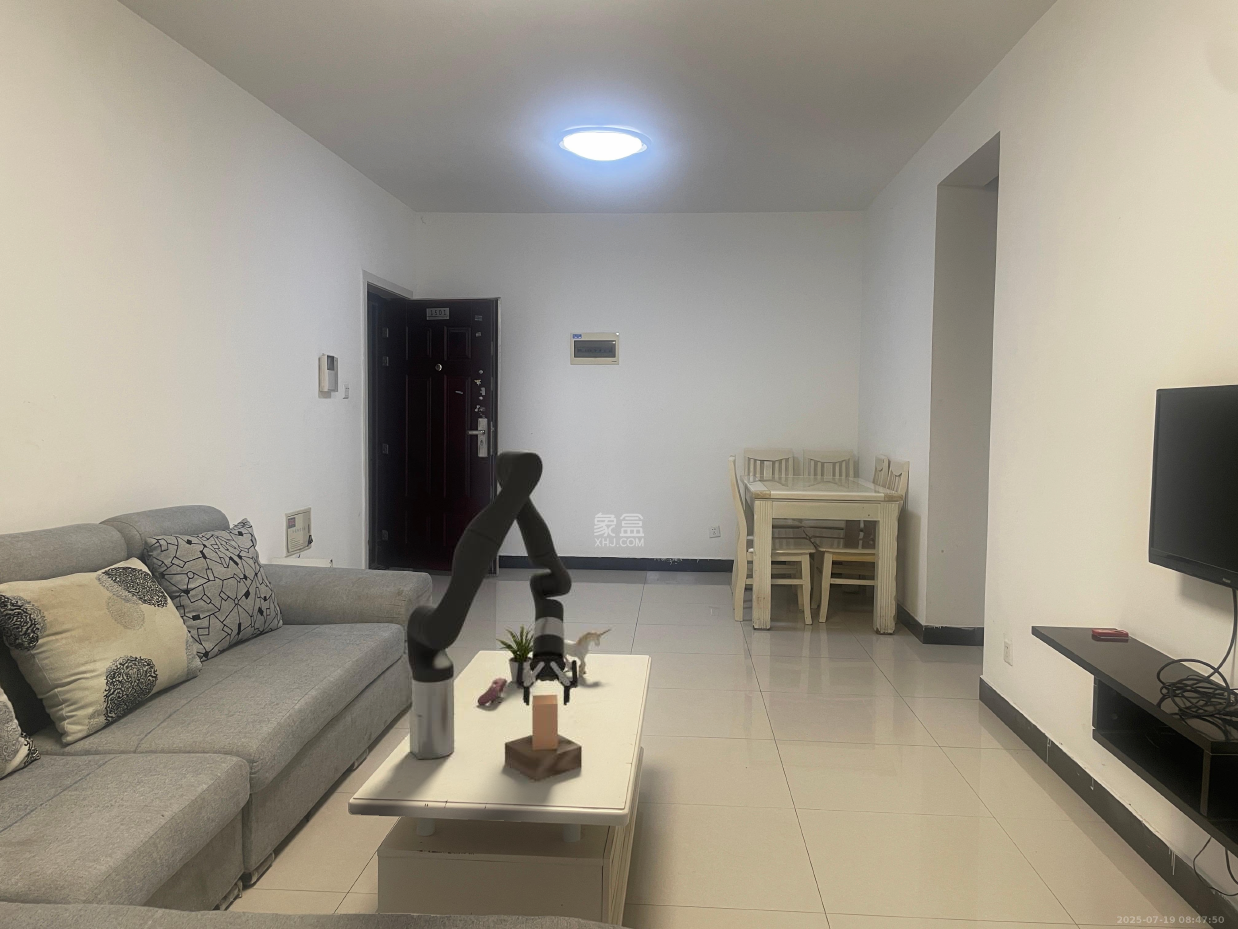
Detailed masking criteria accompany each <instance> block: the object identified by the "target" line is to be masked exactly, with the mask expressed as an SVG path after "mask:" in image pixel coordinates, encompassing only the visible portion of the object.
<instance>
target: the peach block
mask: <svg viewBox="0 0 1238 929" xmlns="http://www.w3.org/2000/svg"><path fill="white" fill-rule="evenodd" d="M531 698H532V700H531V701H532V702H531V703H532V704H531V709H532V710H531V711H532V713H531V715H532V720H531V721H532V722H531V723H532V734H531V735H532V745H533V750H546V749H558V734H559V732H558V730H559V729H558V727H559V724H558V723H559V722H558V721H559V720H558V719H559V717H558V716H559V715H558V714H559V713H558V710H559V707H558V694H543V695H542V694H539V695H538V694H537V695H532V697H531Z"/></svg>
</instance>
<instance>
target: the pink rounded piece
mask: <svg viewBox="0 0 1238 929" xmlns="http://www.w3.org/2000/svg"><path fill="white" fill-rule="evenodd" d="M507 683H508V680H507V679H506V678H502V677H501V676H500V677H499V678H495V679H493V680H492V682H491V685H490V686H489V687H488V689H486V691H485V692H484V693H483V694H481V695H480V696H479V697H478V698H477V705H480V706H484V705H487V704H489V703H490V702H491V703H494V702H496V700H497V699H498V698H499V697H501V696H502V692H503V690H504V689H505V688H506V686H507Z"/></svg>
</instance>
